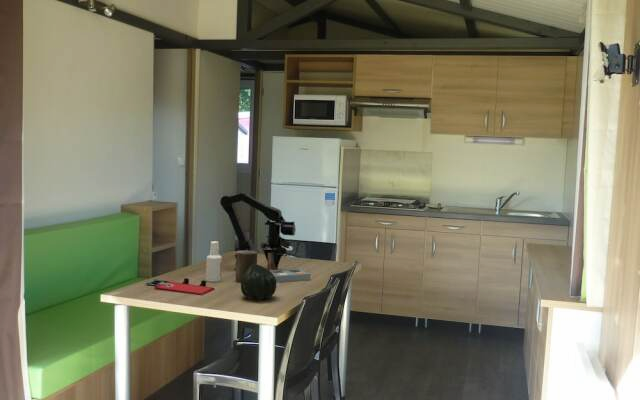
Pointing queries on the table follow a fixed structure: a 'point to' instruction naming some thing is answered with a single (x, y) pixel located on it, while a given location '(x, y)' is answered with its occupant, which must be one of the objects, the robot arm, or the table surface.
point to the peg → (271, 263)
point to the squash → (258, 283)
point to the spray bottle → (214, 263)
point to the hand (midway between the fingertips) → (272, 265)
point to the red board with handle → (182, 287)
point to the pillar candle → (244, 262)
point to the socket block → (290, 275)
